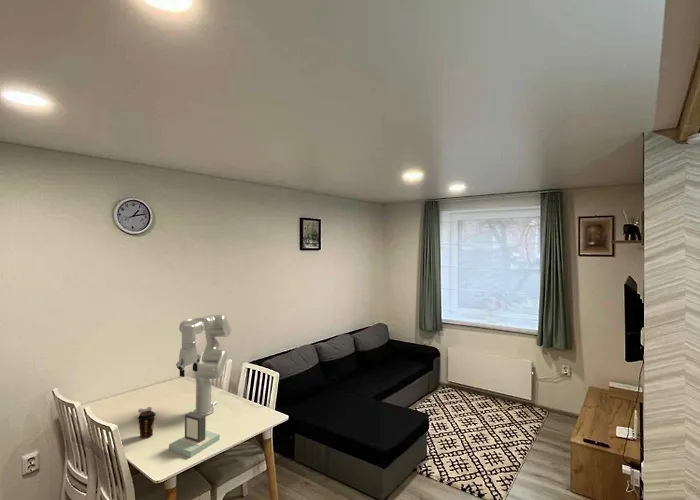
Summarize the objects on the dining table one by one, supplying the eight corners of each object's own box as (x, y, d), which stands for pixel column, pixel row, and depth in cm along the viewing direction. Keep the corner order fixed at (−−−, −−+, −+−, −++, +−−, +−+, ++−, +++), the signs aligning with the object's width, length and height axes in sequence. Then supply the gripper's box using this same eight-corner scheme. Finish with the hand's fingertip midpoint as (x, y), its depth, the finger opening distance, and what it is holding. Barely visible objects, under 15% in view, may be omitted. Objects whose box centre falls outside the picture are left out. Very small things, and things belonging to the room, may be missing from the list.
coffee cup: (151, 430, 222) (151, 408, 222) (157, 435, 217) (158, 412, 217) (135, 436, 215) (135, 413, 215) (141, 441, 210) (141, 417, 210)
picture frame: (190, 434, 211) (190, 411, 211) (205, 439, 206) (205, 415, 206) (184, 438, 207) (184, 414, 207) (199, 442, 203) (199, 418, 203)
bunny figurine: (140, 418, 230) (136, 406, 241) (140, 426, 230) (136, 414, 242) (157, 414, 235) (153, 403, 247) (157, 421, 236) (152, 410, 248)
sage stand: (198, 433, 219) (198, 427, 219) (219, 439, 213) (219, 433, 213) (168, 450, 201) (168, 443, 201) (190, 457, 194) (190, 451, 194)
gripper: (195, 340, 234) (195, 368, 234) (171, 348, 218) (171, 377, 218) (204, 342, 231) (204, 370, 231) (181, 349, 215) (181, 379, 215)
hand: (188, 373), depth 225 cm, fingers open, 9 cm apart
